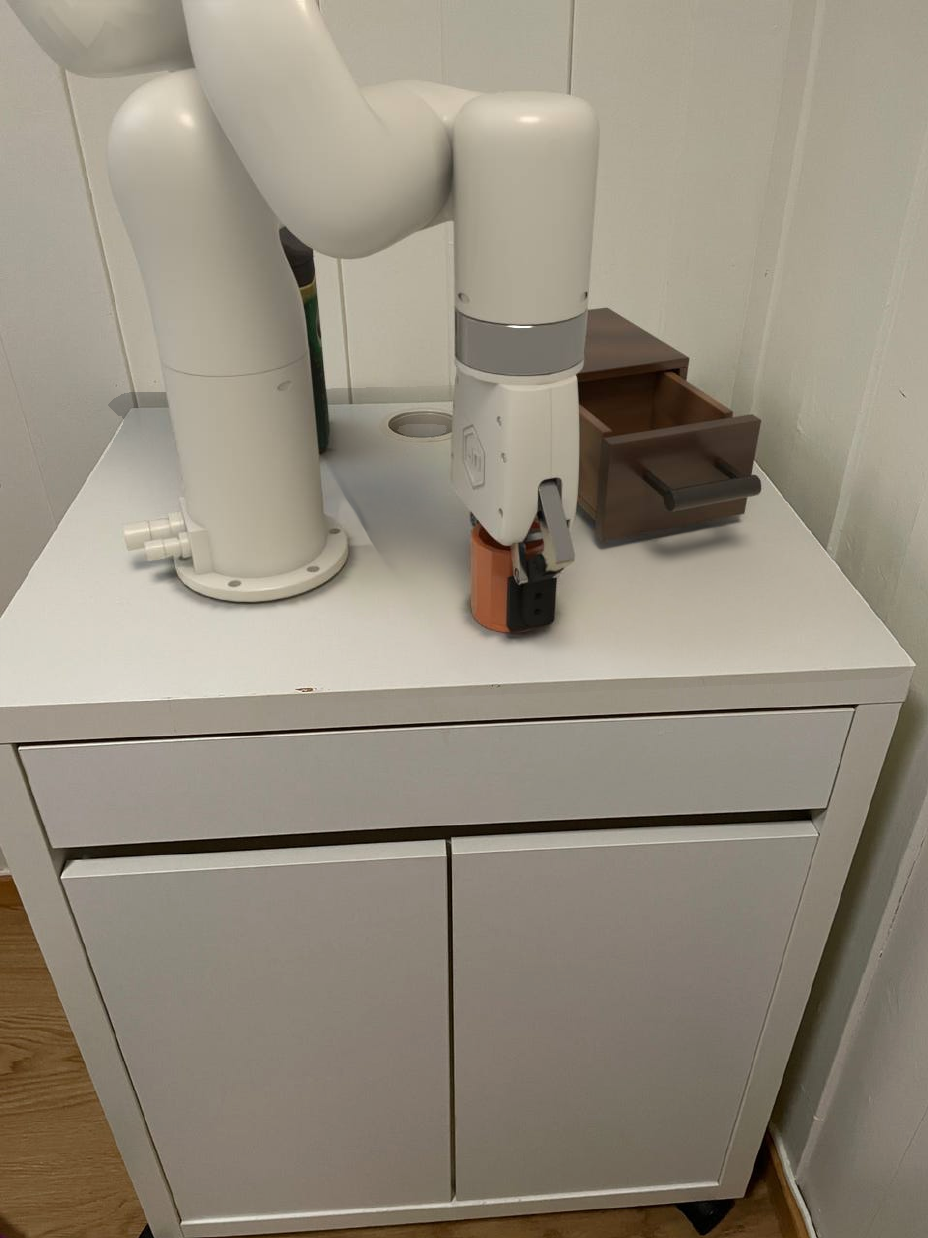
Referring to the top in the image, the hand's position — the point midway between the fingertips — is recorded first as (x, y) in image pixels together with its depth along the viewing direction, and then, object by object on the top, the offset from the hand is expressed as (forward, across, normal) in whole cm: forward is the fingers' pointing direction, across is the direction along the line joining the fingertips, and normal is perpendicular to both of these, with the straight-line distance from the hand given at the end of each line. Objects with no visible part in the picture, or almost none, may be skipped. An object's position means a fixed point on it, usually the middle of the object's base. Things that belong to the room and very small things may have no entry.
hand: (511, 599), depth 66 cm
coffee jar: (+1, -33, -8) cm, 34 cm away
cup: (+1, 0, 0) cm, 1 cm away
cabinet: (+1, -23, +16) cm, 28 cm away
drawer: (0, -9, +16) cm, 18 cm away
